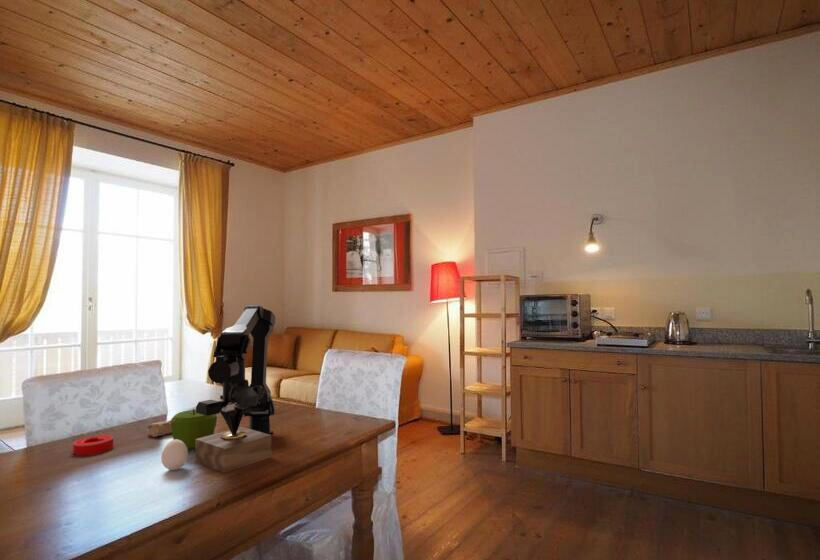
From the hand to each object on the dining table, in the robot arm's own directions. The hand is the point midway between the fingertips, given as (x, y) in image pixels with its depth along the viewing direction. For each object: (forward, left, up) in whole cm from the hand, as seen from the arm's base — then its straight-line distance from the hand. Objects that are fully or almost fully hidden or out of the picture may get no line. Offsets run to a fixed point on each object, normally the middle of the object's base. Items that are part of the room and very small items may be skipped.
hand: (233, 433), depth 123 cm
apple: (-19, -1, -7) cm, 20 cm away
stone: (-41, +1, -7) cm, 41 cm away
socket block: (0, 0, -7) cm, 7 cm away
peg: (0, 0, -7) cm, 7 cm away
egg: (-6, -13, -7) cm, 16 cm away
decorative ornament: (-42, -19, -7) cm, 47 cm away
